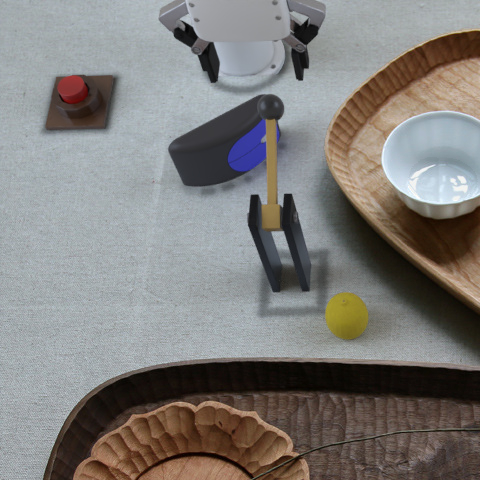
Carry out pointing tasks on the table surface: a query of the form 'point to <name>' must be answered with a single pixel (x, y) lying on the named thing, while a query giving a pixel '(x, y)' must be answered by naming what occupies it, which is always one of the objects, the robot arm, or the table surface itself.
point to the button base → (81, 106)
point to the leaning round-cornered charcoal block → (222, 146)
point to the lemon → (346, 315)
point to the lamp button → (72, 89)
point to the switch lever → (271, 161)
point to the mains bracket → (268, 247)
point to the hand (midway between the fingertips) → (258, 72)
